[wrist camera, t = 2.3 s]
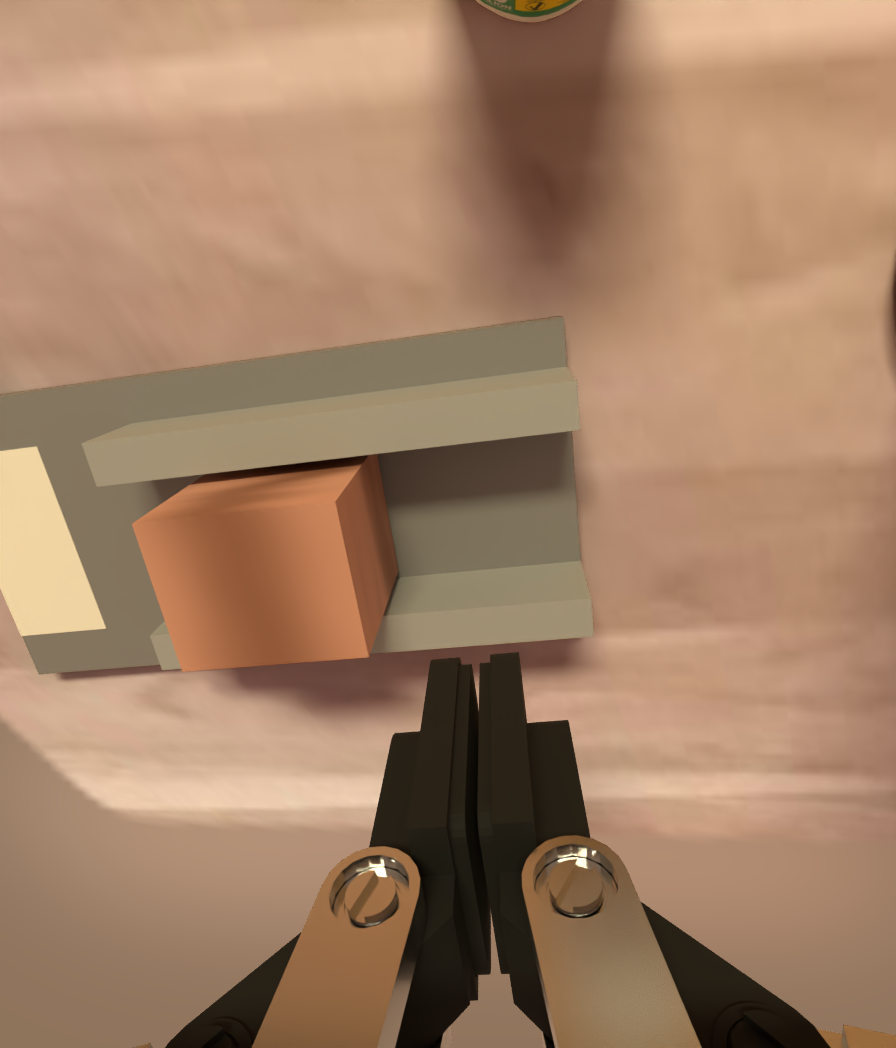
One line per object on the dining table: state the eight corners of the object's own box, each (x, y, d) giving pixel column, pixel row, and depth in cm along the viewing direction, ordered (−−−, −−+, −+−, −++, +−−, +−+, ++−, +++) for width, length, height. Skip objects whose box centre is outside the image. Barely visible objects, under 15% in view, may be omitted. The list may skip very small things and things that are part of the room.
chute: (560, 315, 22) (573, 324, 18) (582, 618, 26) (596, 675, 22) (-57, 402, 25) (-156, 424, 21) (53, 661, 29) (-12, 718, 25)
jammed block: (375, 446, 23) (335, 501, 17) (398, 570, 25) (368, 657, 19) (218, 464, 23) (131, 524, 18) (252, 584, 25) (182, 671, 20)
